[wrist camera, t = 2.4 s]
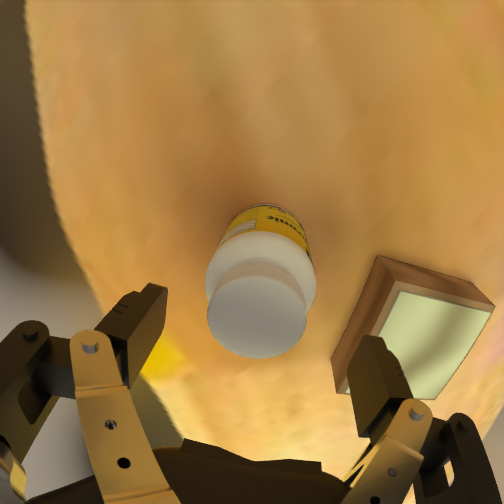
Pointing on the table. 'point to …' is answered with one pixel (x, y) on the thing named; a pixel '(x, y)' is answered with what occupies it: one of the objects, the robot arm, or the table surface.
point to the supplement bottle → (260, 283)
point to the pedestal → (415, 324)
